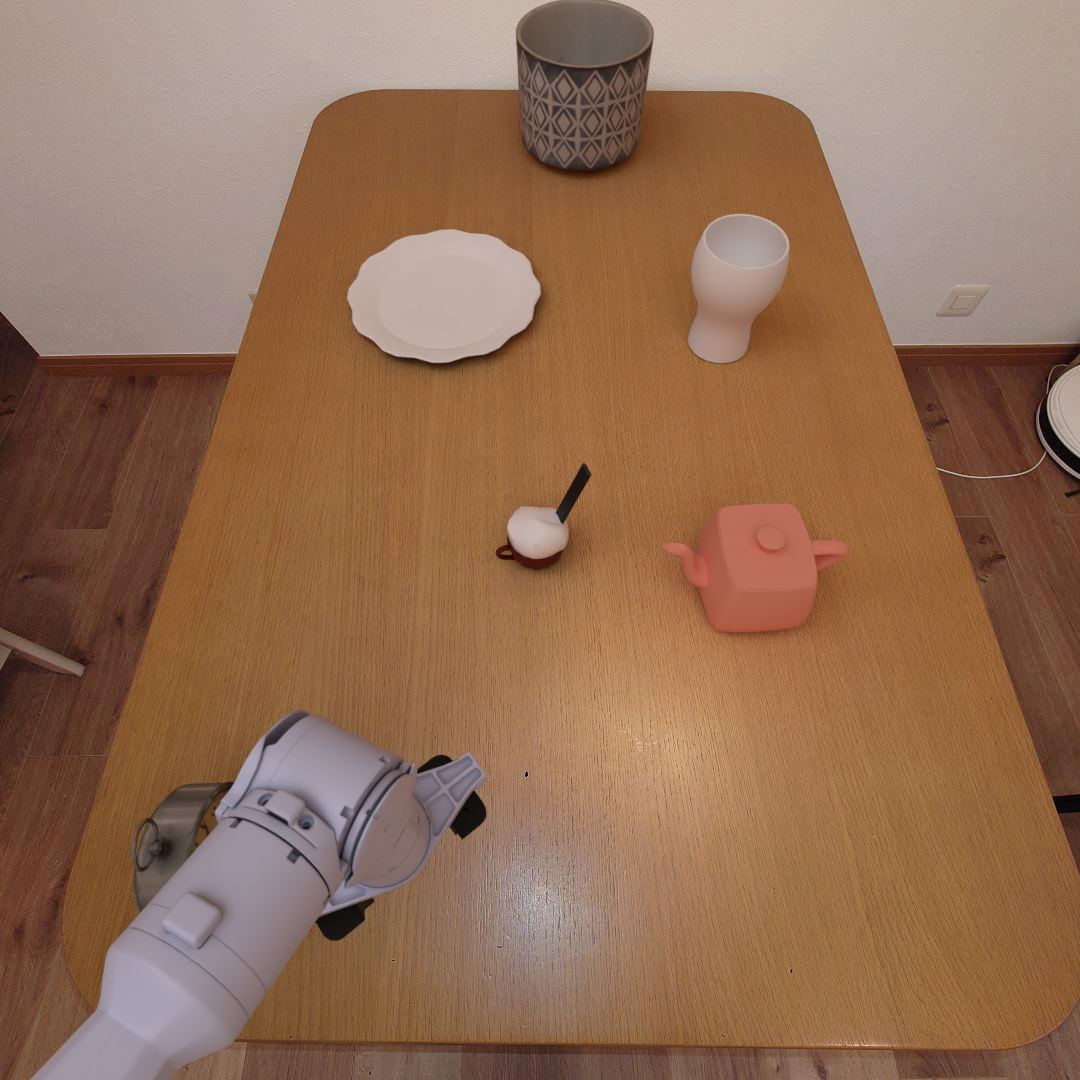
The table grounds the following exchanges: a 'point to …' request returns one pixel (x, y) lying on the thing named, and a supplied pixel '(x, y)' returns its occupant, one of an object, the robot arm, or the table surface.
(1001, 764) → the table surface
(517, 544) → the cocoa
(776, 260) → the cup
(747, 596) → the teapot
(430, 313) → the plate
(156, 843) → the alarm clock
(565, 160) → the planter
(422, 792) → the robot arm
